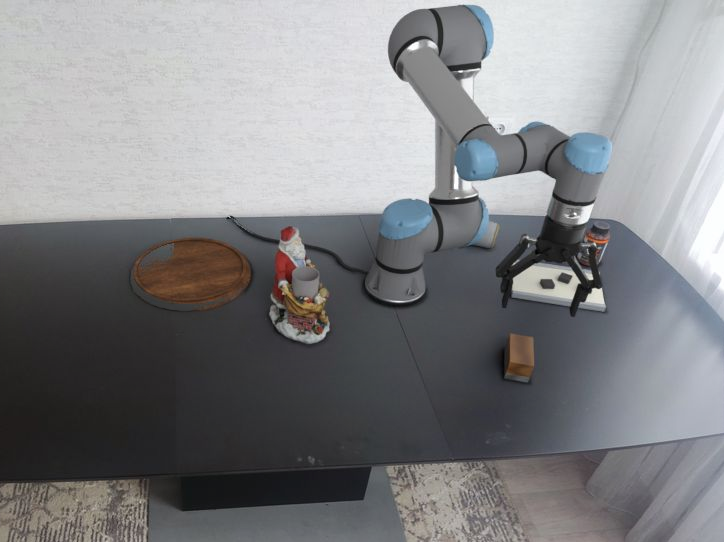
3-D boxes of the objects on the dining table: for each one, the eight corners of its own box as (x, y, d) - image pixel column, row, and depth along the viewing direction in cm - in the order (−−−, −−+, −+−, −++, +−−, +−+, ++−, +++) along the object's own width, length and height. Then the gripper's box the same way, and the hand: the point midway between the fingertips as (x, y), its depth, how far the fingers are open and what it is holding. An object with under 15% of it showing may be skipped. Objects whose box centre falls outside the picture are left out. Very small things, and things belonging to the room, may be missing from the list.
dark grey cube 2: (557, 280, 171) (558, 276, 170) (560, 275, 172) (561, 272, 172) (568, 284, 169) (569, 280, 169) (571, 279, 171) (572, 275, 170)
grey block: (542, 289, 168) (544, 285, 167) (539, 282, 170) (540, 278, 169) (553, 289, 168) (555, 285, 167) (550, 282, 170) (551, 279, 169)
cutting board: (121, 254, 183) (119, 246, 181) (231, 235, 190) (231, 227, 188) (142, 322, 160) (140, 313, 158) (267, 297, 167) (267, 289, 165)
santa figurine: (335, 344, 153) (344, 252, 137) (276, 349, 152) (278, 257, 135) (321, 301, 166) (327, 213, 149) (266, 306, 164) (266, 217, 148)
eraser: (504, 378, 144) (509, 361, 141) (504, 349, 151) (509, 333, 148) (528, 382, 143) (534, 365, 140) (527, 353, 150) (533, 337, 147)
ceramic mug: (492, 253, 182) (498, 229, 177) (462, 247, 185) (467, 223, 180) (496, 236, 190) (503, 212, 185) (467, 230, 192) (473, 206, 187)
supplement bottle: (575, 264, 178) (589, 227, 171) (576, 253, 183) (589, 217, 175) (599, 269, 177) (614, 232, 169) (599, 257, 181) (613, 221, 173)
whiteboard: (511, 297, 167) (512, 292, 166) (511, 263, 179) (512, 258, 178) (604, 311, 162) (606, 307, 161) (597, 275, 174) (599, 271, 173)
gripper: (499, 220, 124) (476, 311, 138) (641, 235, 120) (603, 327, 133) (497, 202, 130) (476, 291, 143) (633, 215, 125) (598, 306, 139)
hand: (537, 309), depth 138 cm, fingers open, 13 cm apart
